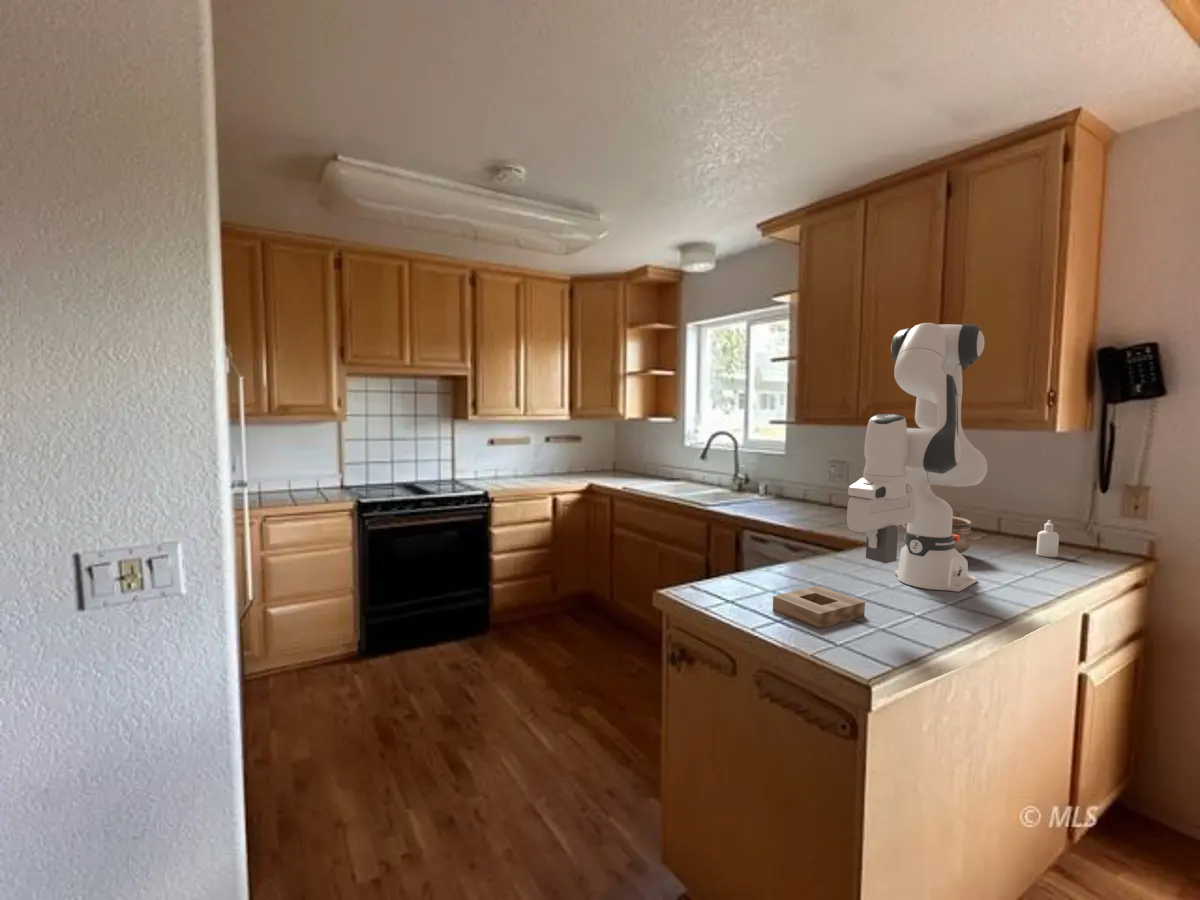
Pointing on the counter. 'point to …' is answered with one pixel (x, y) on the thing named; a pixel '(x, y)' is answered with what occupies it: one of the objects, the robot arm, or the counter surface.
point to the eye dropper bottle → (1047, 541)
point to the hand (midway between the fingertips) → (881, 546)
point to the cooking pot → (961, 533)
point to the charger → (884, 545)
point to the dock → (818, 606)
